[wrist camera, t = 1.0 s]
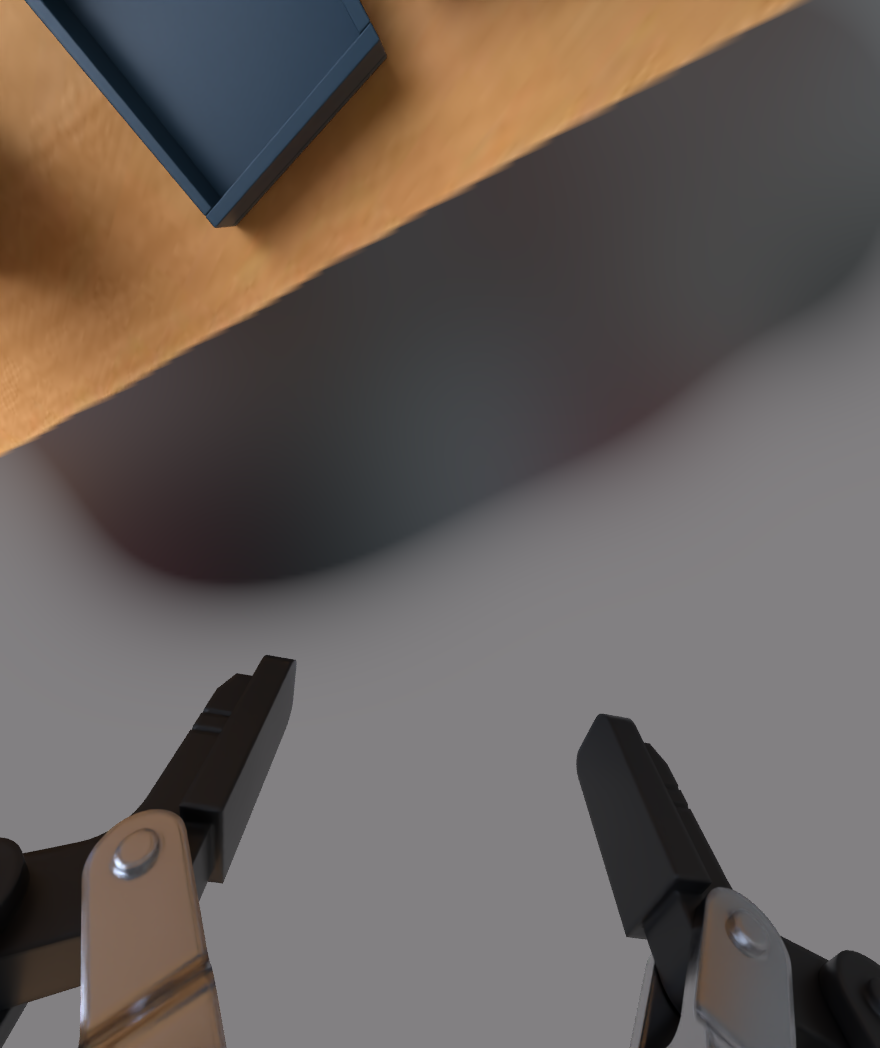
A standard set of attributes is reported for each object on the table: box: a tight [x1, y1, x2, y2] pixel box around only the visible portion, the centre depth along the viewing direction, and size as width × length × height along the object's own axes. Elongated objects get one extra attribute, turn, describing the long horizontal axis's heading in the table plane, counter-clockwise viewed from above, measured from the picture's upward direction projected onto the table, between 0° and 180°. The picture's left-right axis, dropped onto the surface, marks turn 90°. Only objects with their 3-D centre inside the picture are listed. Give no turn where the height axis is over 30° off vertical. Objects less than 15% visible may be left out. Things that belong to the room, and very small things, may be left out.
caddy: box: [25, 0, 387, 228], centre depth 20 cm, size 13×13×3 cm
